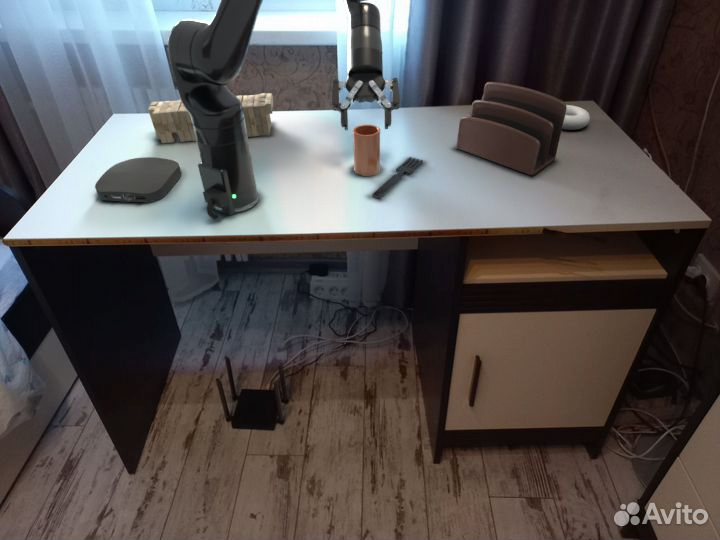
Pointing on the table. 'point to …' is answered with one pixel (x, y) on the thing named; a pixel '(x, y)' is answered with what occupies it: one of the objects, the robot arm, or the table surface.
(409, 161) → the fork
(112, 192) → the media streaming box
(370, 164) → the tumbler
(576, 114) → the donut
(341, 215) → the table surface
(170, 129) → the block tower
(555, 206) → the table surface
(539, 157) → the letter holder
